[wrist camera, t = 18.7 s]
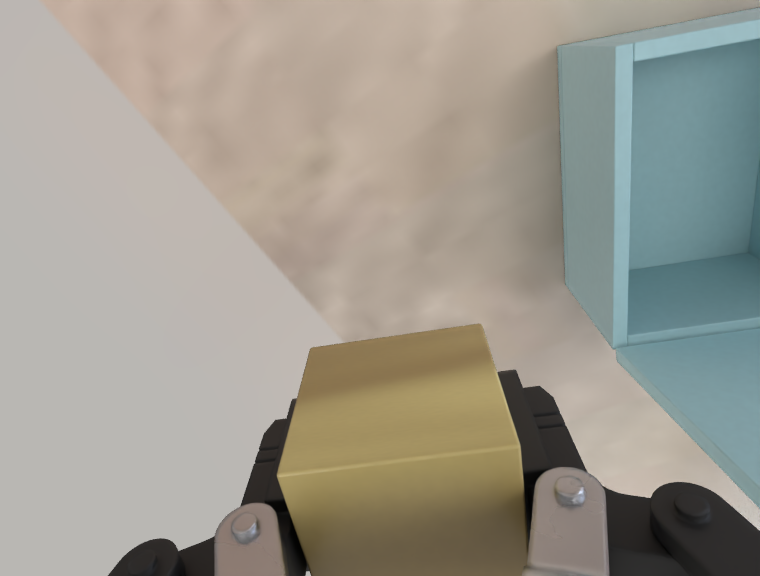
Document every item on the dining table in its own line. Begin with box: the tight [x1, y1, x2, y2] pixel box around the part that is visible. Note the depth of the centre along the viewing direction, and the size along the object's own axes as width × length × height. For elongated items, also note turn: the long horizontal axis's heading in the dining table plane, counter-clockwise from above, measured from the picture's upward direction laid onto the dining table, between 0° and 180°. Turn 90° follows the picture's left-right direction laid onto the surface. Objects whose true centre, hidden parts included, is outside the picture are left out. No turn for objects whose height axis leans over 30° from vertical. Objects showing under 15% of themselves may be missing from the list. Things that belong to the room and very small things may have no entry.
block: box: [277, 324, 529, 576], centre depth 12 cm, size 4×4×4 cm
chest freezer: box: [557, 7, 760, 349], centre depth 29 cm, size 16×13×9 cm
